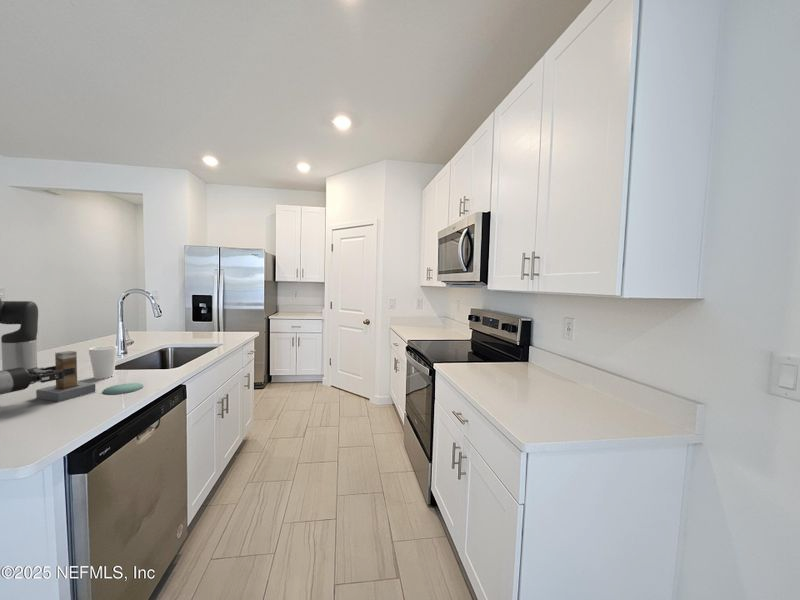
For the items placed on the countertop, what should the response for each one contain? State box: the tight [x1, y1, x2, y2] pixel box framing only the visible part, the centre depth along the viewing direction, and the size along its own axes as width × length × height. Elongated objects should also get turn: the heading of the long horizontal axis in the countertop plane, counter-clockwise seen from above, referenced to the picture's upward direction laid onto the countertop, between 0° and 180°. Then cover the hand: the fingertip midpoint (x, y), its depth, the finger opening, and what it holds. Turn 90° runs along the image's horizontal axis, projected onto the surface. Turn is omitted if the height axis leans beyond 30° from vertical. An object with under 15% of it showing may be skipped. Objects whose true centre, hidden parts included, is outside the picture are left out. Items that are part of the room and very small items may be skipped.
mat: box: [102, 382, 144, 395], centre depth 128 cm, size 12×12×1 cm
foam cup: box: [88, 345, 119, 380], centre depth 143 cm, size 10×9×13 cm
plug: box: [54, 350, 78, 390], centre depth 120 cm, size 4×4×16 cm
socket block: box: [35, 380, 96, 403], centre depth 121 cm, size 11×11×3 cm
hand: (66, 369), depth 120 cm, fingers open, 8 cm apart
